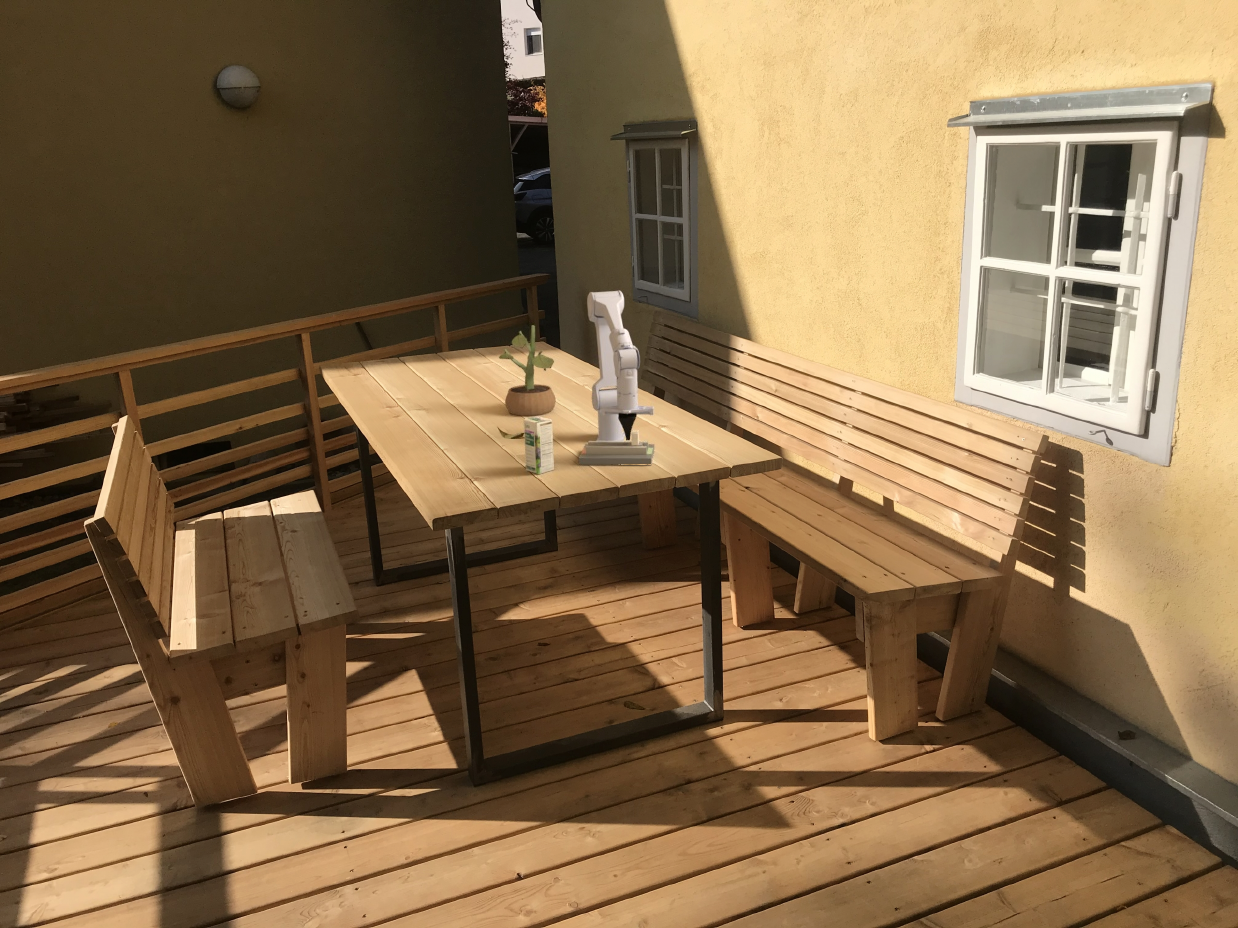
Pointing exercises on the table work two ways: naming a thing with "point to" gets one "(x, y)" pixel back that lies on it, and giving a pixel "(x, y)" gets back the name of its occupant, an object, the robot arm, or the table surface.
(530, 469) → the syrup box
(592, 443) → the breaker panel
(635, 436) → the breaker handle
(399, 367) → the table surface
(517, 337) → the potted plant
